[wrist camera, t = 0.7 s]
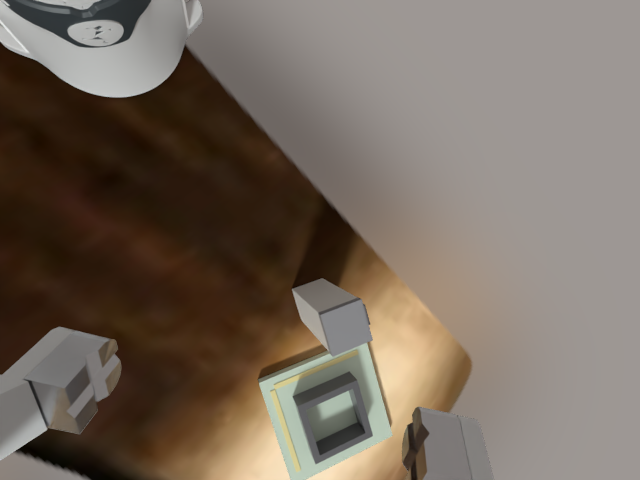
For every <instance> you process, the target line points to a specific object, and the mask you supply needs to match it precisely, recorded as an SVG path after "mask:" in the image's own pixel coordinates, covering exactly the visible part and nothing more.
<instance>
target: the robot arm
mask: <svg viewBox="0 0 640 480" xmlns="http://www.w3.org/2000/svg"><path fill="white" fill-rule="evenodd" d="M202 19H203V10H202V5H201V3H200V1H199V0H189V1H188V2H185V0H0V42H1V43H2V44H3V45H4V46H5V47H6V48H8V49H9V50H11V51H13V52H16V53H18V54H20V55H23V56H26V57H29V58H32V59H34V60H37V61H38V62H40V63H42V64H43V65H44V66H46V67H47V68H48V69H49V70H51V71H52V72H53V73H54V74H56V75H57V76H58V77H59V78H61V79H62V80H64V81H65V82H67V83H69V84H70V85H72V86H74V87H76V88H78V89H80V90H83V91H86V92H88V93H92V94H95V95H100V96H106V97H129V96H134V95H138V94H142V93H144V92H147V91H149V90H151V89H153V88H155V87H157V86H158V85H160V84H161V83H162V82H163V81H165V80H166V79H167V78H168V77H169V76H170V74H171V73H172V72H173V71H174V69H175V68H176V66H177V64H178V62H179V60H180V58H181V55H182V52H183V48H184V45H185V42H186V40H187V38H188V36H189V35H190V34H191V33H192V32H193V31H194V30H195V29H196V28H197V27H198V26H199V24H200V23H201V21H202ZM117 350H118V347H117V344H116V340H112V339H108V338H104V337H100V336H96V335H92V334H88V333H84V332H80V331H76V330H71V329H67V328H63V327H58V328H55V329H53V330H51V331H50V332H49V333H48V334H47V335H46V336H44V337H43V338H42V339H41V340H40V341H39V342H38V343H37V344H36V345H35V346H33V347H32V348H31V349H30V350H29V351H28V352H27V353H26V354H25V355H24V356H22V357H21V358H20V359H19V360H18V361H17V362H16V363H15V364H14V365H13V366H11V367H10V368H9V369H8V370H7V371H6V372H5V373H4V374H3V375H0V460H1V459H3V458H5V457H6V456H8V455H9V454H11V453H12V452H14V451H15V450H17V449H18V448H20V447H22V446H23V445H25V444H26V443H28V442H29V441H31V440H32V439H34V438H35V437H37V436H38V435H40V434H41V433H43V432H44V431H46V430H47V428H52V429H57V430H62V431H67V432H72V433H77V434H80V433H81V432H82V431H83V429H84V428H85V427H86V425H87V424H88V423H89V421H90V420H91V419H92V417H93V416H94V415H95V413H96V412H97V411H98V401H100V400H101V399H103V398H105V397H107V396H109V394H110V393H111V391H112V390H113V389H114V387H115V386H116V384H117V381H118V379H119V376H120V372H121V363H120V360H119V359H118V358H117V357H116V355H115V354H114V353H115V352H116V351H117ZM412 417H413V423H411V424H409V425H407V428H406V430H405V433H404V438H403V443H402V463H403V465H404V466H405V468H406V469H407V471H408V473H407V475H406V477H405V479H404V480H494V477H493V473H492V469H491V465H490V461H489V457H488V454H487V450H486V446H485V442H484V438H483V434H482V430H481V427H480V424H479V422H478V421H477V420H476V419H472V418H467V417H463V416H458V415H455V414H451V413H447V412H442V411H437V410H432V409H427V408H422V407H417V408H415V410H414V412H413V414H412Z"/></svg>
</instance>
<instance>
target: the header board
mask: <svg viewBox="0 0 640 480" xmlns="http://www.w3.org/2000/svg"><path fill="white" fill-rule="evenodd" d="M258 382H259V385H260V388H261V391H262V394H263V397H264V400H265V403H266V406H267V409H268V412H269V415H270V418H271V421H272V424H273V427H274V430H275V433H276V437H277V440H278V443H279V446H280V449H281V452H282V455H283V458H284V461H285V464H286V467H287V470H288V473H289V476H290V479H291V480H306V479H308V478H309V477H311V476H313V475H315V474H317V473H319V472H321V471H323V470H325V469H327V468H329V467H331V466H333V465H335V464H337V463H339V462H341V461H343V460H345V459H347V458H349V457H351V456H353V455H355V454H357V453H359V452H361V451H363V450H365V449H367V448H369V447H371V446H373V445H375V444H377V443H379V442H381V441H383V440H385V439H387V438H389V437H391V436H393V435H392V432H391V428H390V425H389V421H388V417H387V414H386V410H385V406H384V403H383V399H382V395H381V392H380V388H379V385H378V381H377V377H376V374H375V370H374V366H373V363H372V359H371V356H370V352H369V348H368V345H367V343H365V344H362V345H360V346H358V347H355V348H353V349H350V350H348V351H346V352H343V353H341V354H338V355H336V356H334V357H332V356H331V354H330V352H329V351H325V352H323V353H320V354H318V355H316V356H313V357H311V358H308V359H306V360H304V361H301V362H299V363H296V364H294V365H291V366H289V367H287V368H284V369H282V370H279V371H277V372H274V373H272V374H270V375H267V376H265V377H262V378H260V379H258Z"/></svg>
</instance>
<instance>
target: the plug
mask: <svg viewBox="0 0 640 480" xmlns="http://www.w3.org/2000/svg"><path fill="white" fill-rule="evenodd" d="M292 291H293V295H294V298H295V301H296V305H297V308H298V311H299V315H300V318H301V320H302V321H303V322H304V324H305V325H306V326H307V327H308V328H309V329H310V330H311V332H312V333H313V334H314V335H315V336H316V337H317V338H318V340H319V341H320V342H321V343H322V344H323V345H324V346H325V348H326V349H327V350H328V351H329V352H330V354H331V356H332V357H334V356H336V355H338V354H341V353H343V352H346V351H348V350H350V349H353V348H355V347H358V346H360V345H362V344H365V343H367V342H369V341H372V340H373V339H372V336H371V332H370V328H369V325H370V322H369V318H368V314H367V311H366V307H365V305H364V304H363V303H362V299H360V298H357V297H355V296H353V295H352V294H350V293H348V292H346V291H344V290H343V289H341V288H339V287H337V286H336V285H334V284H332V283H330V282H328V281H327V280H325V279H323V278H321V279H318V280H316V281H313V282H310V283H307V284H304V285H302V286H299V287H296V288H293V289H292Z"/></svg>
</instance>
